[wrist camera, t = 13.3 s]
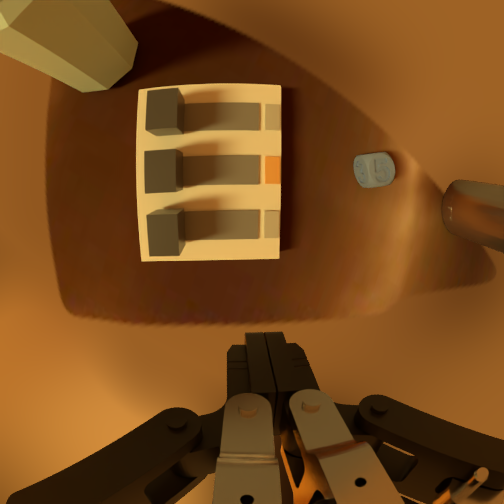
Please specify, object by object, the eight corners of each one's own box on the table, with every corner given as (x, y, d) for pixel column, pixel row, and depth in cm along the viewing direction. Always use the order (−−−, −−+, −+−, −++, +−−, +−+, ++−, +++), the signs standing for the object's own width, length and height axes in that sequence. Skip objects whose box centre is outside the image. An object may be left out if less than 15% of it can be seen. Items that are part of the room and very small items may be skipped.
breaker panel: (276, 91, 30) (281, 84, 27) (275, 252, 35) (279, 259, 32) (144, 95, 28) (138, 88, 25) (147, 255, 33) (140, 262, 31)
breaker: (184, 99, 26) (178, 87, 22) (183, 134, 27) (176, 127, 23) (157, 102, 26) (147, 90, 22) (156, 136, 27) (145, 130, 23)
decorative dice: (376, 152, 33) (392, 150, 29) (381, 181, 34) (398, 183, 30) (350, 156, 33) (365, 154, 29) (356, 186, 34) (371, 188, 30)
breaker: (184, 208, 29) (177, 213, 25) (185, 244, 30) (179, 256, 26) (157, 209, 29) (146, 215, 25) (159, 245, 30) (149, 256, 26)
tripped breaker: (182, 152, 28) (175, 148, 23) (183, 189, 29) (175, 192, 24) (155, 154, 27) (144, 151, 23) (156, 191, 28) (144, 193, 24)
